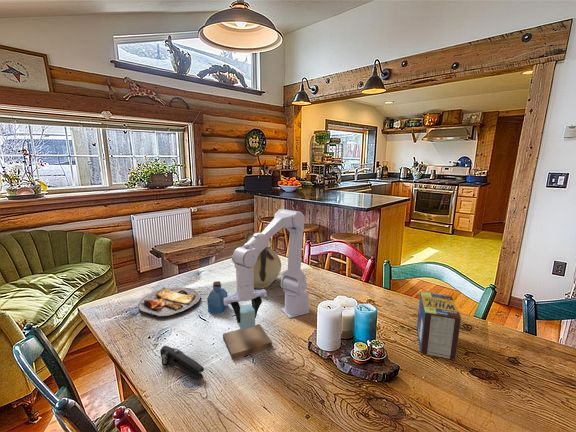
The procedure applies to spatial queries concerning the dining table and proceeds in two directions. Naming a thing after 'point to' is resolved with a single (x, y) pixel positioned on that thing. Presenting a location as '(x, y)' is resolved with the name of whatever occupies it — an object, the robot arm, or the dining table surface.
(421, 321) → the protein box
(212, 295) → the perfume bottle
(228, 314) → the dining table surface
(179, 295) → the food plate
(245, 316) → the blue block
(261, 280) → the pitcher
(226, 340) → the walnut block
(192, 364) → the can opener
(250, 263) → the robot arm
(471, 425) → the dining table surface
